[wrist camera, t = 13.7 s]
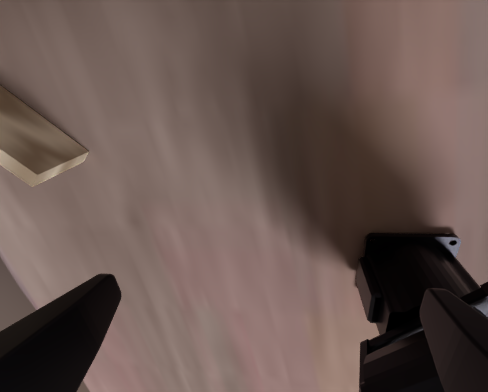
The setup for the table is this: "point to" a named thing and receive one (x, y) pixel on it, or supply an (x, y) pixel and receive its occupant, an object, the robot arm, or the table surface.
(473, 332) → the robot arm
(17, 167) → the tray
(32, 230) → the table surface
